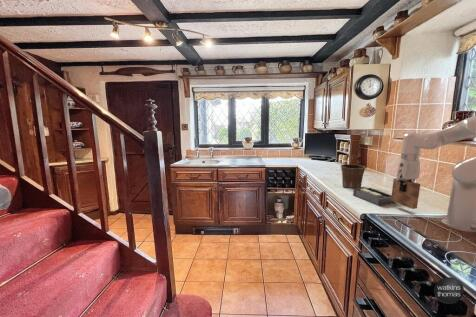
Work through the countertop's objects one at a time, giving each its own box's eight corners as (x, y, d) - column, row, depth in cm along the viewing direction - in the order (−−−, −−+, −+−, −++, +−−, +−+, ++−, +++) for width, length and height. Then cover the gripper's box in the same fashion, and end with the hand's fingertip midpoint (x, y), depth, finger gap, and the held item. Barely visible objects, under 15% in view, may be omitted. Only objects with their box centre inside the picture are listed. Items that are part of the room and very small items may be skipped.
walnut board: (416, 208, 114) (420, 184, 112) (412, 208, 114) (416, 184, 111) (394, 200, 126) (397, 178, 123) (390, 200, 125) (393, 178, 123)
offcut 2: (380, 202, 131) (381, 194, 130) (375, 203, 130) (376, 195, 129) (372, 199, 136) (373, 191, 135) (368, 200, 135) (369, 192, 134)
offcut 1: (371, 199, 137) (372, 191, 136) (366, 199, 136) (367, 191, 135) (364, 196, 142) (364, 188, 141) (359, 196, 141) (360, 189, 140)
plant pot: (340, 189, 159) (342, 167, 157) (337, 183, 175) (339, 163, 172) (366, 191, 155) (368, 169, 152) (360, 185, 170) (362, 164, 167)
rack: (395, 204, 130) (396, 196, 129) (377, 207, 126) (378, 198, 126) (369, 195, 147) (370, 187, 147) (352, 196, 144) (353, 189, 143)
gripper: (404, 159, 109) (400, 194, 113) (429, 157, 114) (424, 192, 117) (390, 156, 117) (386, 190, 120) (414, 155, 121) (409, 187, 124)
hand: (405, 190), depth 118 cm, fingers closed on walnut board, 3 cm apart
